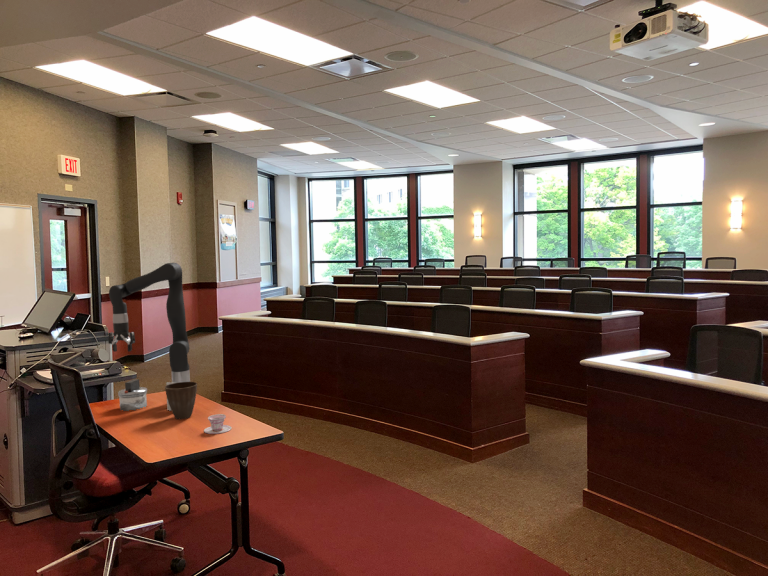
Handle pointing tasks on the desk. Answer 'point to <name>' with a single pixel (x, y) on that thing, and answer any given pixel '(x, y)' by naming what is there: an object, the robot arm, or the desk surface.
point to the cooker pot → (133, 402)
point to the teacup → (217, 424)
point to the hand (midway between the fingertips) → (122, 351)
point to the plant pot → (181, 398)
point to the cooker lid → (132, 388)
